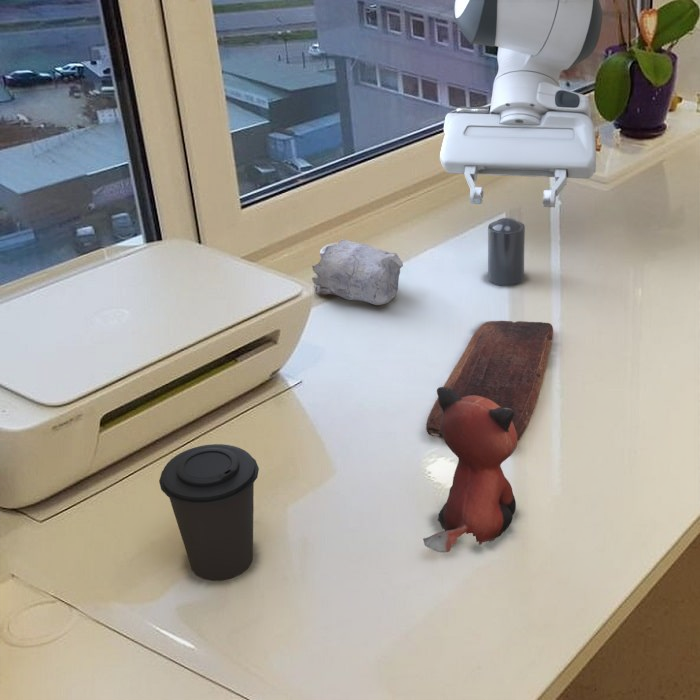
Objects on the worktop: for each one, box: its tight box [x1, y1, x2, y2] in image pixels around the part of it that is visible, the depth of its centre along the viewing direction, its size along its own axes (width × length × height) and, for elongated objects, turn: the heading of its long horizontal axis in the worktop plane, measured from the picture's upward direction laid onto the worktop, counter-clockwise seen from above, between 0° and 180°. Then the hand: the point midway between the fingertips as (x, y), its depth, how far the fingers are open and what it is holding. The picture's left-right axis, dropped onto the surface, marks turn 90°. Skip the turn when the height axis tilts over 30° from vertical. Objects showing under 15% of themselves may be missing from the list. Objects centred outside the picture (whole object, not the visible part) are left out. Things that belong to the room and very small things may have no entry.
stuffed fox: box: [422, 386, 518, 553], centre depth 90 cm, size 8×11×12 cm
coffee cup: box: [158, 443, 260, 581], centre depth 89 cm, size 8×8×10 cm
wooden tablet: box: [425, 320, 554, 443], centre depth 114 cm, size 26×2×10 cm
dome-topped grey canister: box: [487, 217, 526, 287], centre depth 136 cm, size 5×5×8 cm
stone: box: [311, 238, 404, 306], centre depth 134 cm, size 8×12×7 cm, turn 60°
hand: (511, 203), depth 138 cm, fingers open, 8 cm apart
